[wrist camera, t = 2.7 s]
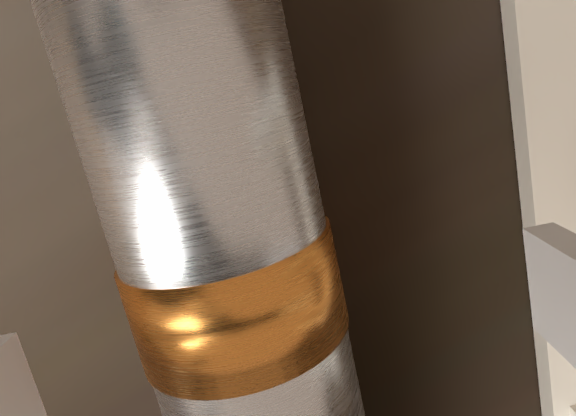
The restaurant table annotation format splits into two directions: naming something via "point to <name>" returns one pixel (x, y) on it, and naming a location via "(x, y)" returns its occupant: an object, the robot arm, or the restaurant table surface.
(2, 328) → the restaurant table surface
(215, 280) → the air tube
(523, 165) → the collar stand
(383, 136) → the restaurant table surface
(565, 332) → the robot arm
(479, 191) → the restaurant table surface
